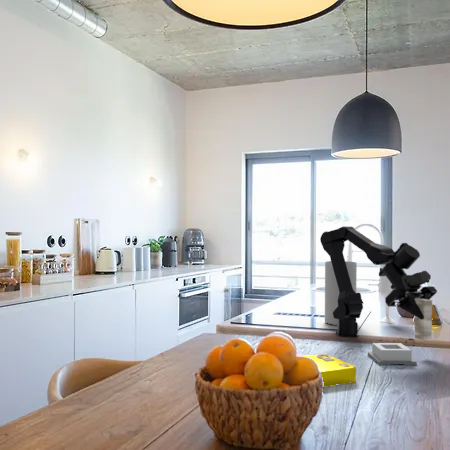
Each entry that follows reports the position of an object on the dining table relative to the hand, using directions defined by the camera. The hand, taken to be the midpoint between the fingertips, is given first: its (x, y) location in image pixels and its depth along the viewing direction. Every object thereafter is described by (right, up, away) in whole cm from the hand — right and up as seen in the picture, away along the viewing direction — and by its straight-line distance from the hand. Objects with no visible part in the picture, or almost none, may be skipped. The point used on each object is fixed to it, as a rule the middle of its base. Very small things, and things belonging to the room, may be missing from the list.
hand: (427, 317), depth 156 cm
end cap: (-12, -12, -4) cm, 18 cm away
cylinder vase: (-15, -12, +52) cm, 55 cm away
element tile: (-37, -12, -21) cm, 45 cm away
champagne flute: (+6, -12, +57) cm, 58 cm away
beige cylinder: (-1, -7, +1) cm, 7 cm away
